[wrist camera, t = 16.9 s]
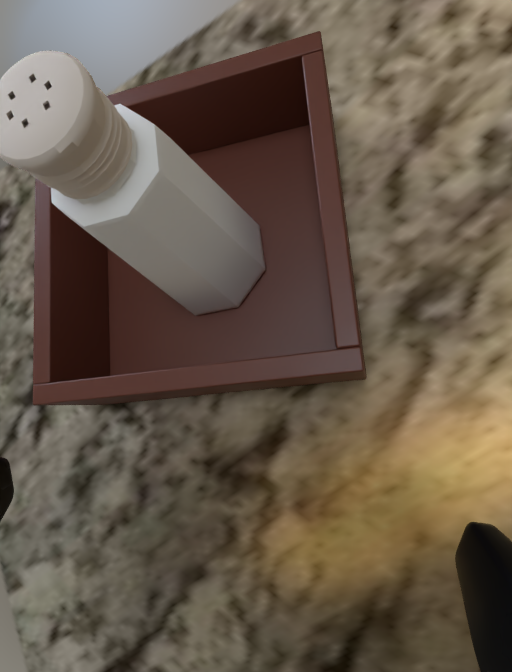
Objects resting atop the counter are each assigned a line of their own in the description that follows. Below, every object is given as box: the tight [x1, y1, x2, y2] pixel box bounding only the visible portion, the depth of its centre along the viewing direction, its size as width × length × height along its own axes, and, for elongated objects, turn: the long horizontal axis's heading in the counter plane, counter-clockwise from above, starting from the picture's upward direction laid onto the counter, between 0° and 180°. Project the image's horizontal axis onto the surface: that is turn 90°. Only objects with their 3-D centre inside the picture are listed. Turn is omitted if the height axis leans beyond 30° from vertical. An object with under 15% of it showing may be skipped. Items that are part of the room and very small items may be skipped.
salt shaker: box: [0, 51, 266, 316], centre depth 15 cm, size 5×5×11 cm
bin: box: [33, 31, 366, 405], centre depth 18 cm, size 13×13×5 cm
